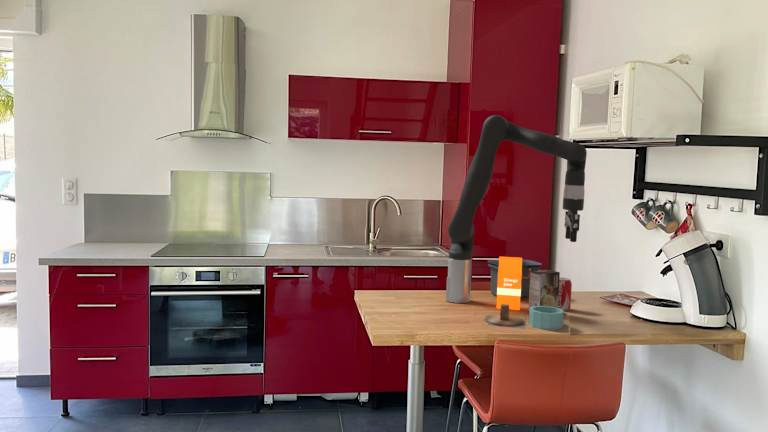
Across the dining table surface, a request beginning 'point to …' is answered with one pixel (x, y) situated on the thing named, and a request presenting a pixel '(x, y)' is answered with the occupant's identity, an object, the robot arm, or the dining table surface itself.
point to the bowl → (546, 317)
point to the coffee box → (544, 288)
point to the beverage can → (564, 294)
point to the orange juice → (509, 282)
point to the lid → (504, 318)
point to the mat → (508, 326)
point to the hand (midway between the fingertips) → (570, 240)
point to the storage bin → (525, 277)
